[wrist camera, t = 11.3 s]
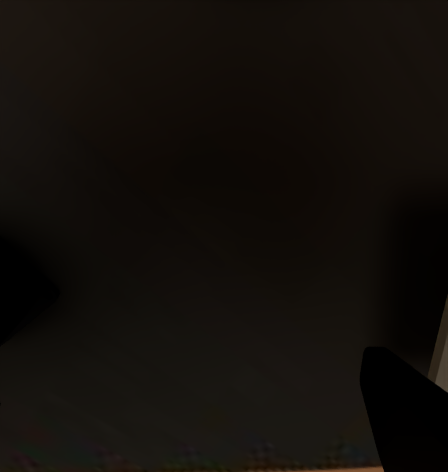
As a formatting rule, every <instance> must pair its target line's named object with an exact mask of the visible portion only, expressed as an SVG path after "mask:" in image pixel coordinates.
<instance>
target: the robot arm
mask: <svg viewBox="0 0 448 472" xmlns="http://www.w3.org/2000/svg"><path fill="white" fill-rule="evenodd" d="M48 293H51V294H52V296H50V295H48ZM59 295H60V293H59V290H58V289H57V288H56V287H55V286H54V285H53V284H51V283H50V282H49V281H48V280H47V279H46V278H45V277H44V276H42V275H41V274H40V273H39V272H38V271H37V270H36V269H35V268H33V267H32V266H31V265H30V264H29V263H28V262H27V261H25V260H24V259H23V258H22V257H21V256H20V255H19V254H18V253H16V252H15V251H14V250H13V249H12V248H11V247H10V246H9V245H7V244H6V243H5V242H4V241H3V240H2V239H1V238H0V346H1V345H3V344H4V343H5V342H6V341H7V340H9V339H10V338H11V337H12V336H14V335H15V334H16V333H17V332H18V331H20V330H21V329H22V328H23V327H25V326H26V325H27V324H28V323H29V322H31V321H32V320H33V319H34V318H36V317H37V316H38V315H39V314H40V313H42V312H43V311H44V310H45V309H47V308H48V307H49V306H50V305H51V304H53V303H54V302H55V301H56V300H57V299H58V297H59ZM360 386H361V391H362V394H363V398H364V402H365V406H366V410H367V413H368V417H369V421H370V425H371V428H372V432H373V436H374V440H375V444H376V447H377V451H378V454H379V458H380V461H381V464H382V467H383V469H384V472H448V392H446V391H445V390H444V389H442V388H441V387H440V386H438V385H437V384H435V383H434V382H433V381H431V380H430V379H429V378H427V377H426V376H424V375H423V374H422V373H420V372H419V371H418V370H416V369H415V368H413V367H412V366H411V365H409V364H408V363H407V362H405V361H404V360H402V359H401V358H400V357H398V356H397V355H396V354H394V353H393V352H391V351H390V350H389V349H387V348H385V347H367V348H365V350H364V353H363V359H362V365H361V372H360ZM0 404H1V403H0Z"/></svg>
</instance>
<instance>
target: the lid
mask: <svg viewBox="0 0 448 472" xmlns="http://www.w3.org/2000/svg"><path fill="white" fill-rule="evenodd" d="M427 378H429V379H430V380H431V381H433V382H434V383H435V384H437V385H438V386H440V387H441V388H442V389H444V390H445V391H446V392H448V295H447V299H446V304H445V308H444V312H443V316H442V320H441V324H440V328H439V332H438V336H437V340H436V345H435V349H434V353H433V357H432V361H431V365H430V369H429V373H428V377H427Z"/></svg>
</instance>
